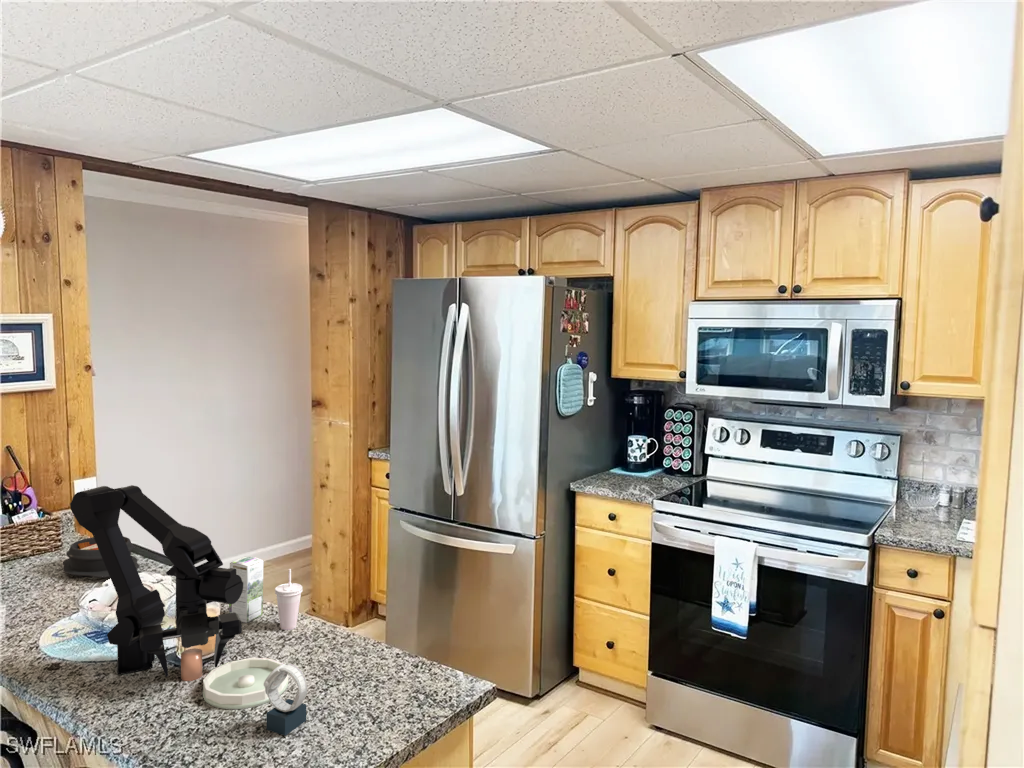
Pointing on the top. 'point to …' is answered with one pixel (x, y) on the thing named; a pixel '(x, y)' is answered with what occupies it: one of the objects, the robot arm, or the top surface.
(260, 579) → the syrup box
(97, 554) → the casserole
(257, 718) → the top surface
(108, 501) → the robot arm
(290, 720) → the watch
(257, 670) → the groove tray
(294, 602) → the smoothie
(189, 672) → the bead
